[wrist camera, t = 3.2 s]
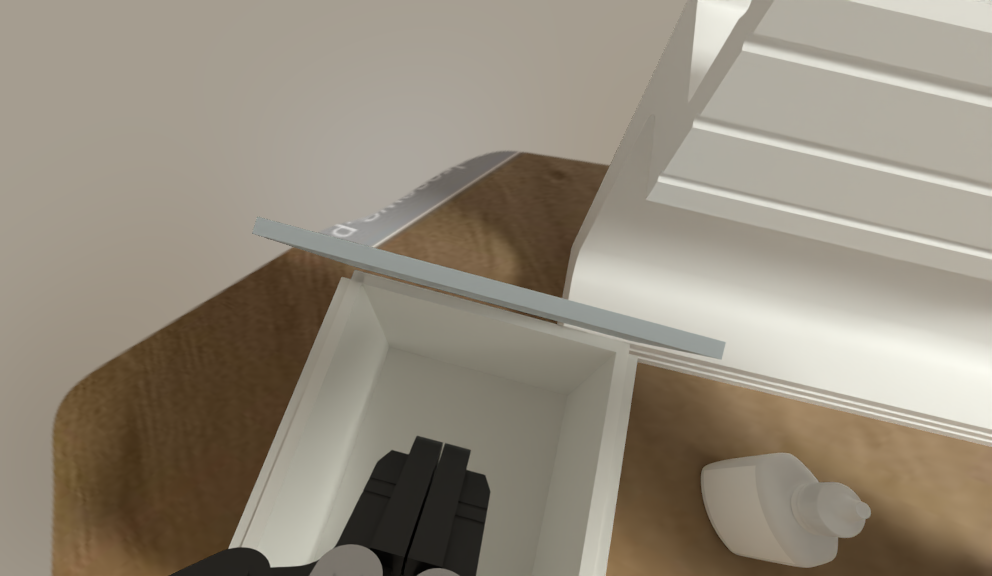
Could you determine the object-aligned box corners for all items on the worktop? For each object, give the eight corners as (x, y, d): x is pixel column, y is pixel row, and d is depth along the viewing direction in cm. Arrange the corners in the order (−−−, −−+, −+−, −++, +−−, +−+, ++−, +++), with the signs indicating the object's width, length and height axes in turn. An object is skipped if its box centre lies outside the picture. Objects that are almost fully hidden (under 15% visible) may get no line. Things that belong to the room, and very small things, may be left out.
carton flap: (355, 266, 24) (358, 256, 24) (630, 340, 24) (632, 330, 24) (252, 233, 14) (257, 216, 14) (721, 359, 14) (725, 342, 14)
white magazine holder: (1007, 349, 40) (2048, 75, 14) (1026, 455, 36) (2418, 356, 11) (571, 246, 40) (783, -204, 14) (553, 341, 37) (783, -15, 11)
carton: (378, 337, 36) (344, 267, 25) (582, 392, 36) (640, 346, 25) (269, 636, 29) (154, 723, 18) (522, 710, 29) (565, 846, 17)
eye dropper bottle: (691, 541, 33) (813, 565, 21) (701, 453, 35) (816, 433, 24) (757, 561, 32) (915, 595, 21) (763, 471, 35) (908, 460, 24)
